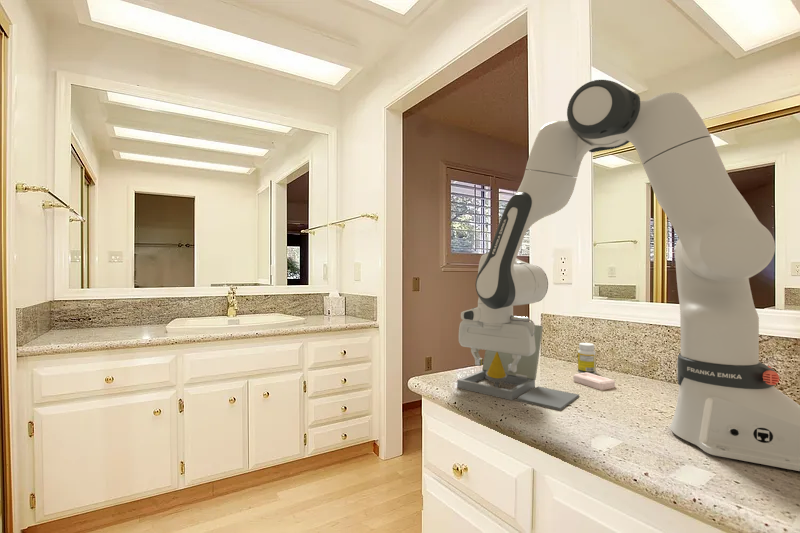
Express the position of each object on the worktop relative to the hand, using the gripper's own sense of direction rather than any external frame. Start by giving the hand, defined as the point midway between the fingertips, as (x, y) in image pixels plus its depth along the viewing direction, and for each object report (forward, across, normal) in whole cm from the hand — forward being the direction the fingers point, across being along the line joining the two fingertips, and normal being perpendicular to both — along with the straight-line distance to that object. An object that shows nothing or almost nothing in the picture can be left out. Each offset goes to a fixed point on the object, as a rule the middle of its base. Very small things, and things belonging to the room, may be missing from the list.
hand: (495, 368), depth 104 cm
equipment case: (+5, 0, 0) cm, 5 cm away
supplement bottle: (+5, -13, -30) cm, 33 cm away
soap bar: (+6, -18, -19) cm, 27 cm away
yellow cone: (+5, 0, 0) cm, 5 cm away
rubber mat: (+5, -14, 0) cm, 15 cm away
